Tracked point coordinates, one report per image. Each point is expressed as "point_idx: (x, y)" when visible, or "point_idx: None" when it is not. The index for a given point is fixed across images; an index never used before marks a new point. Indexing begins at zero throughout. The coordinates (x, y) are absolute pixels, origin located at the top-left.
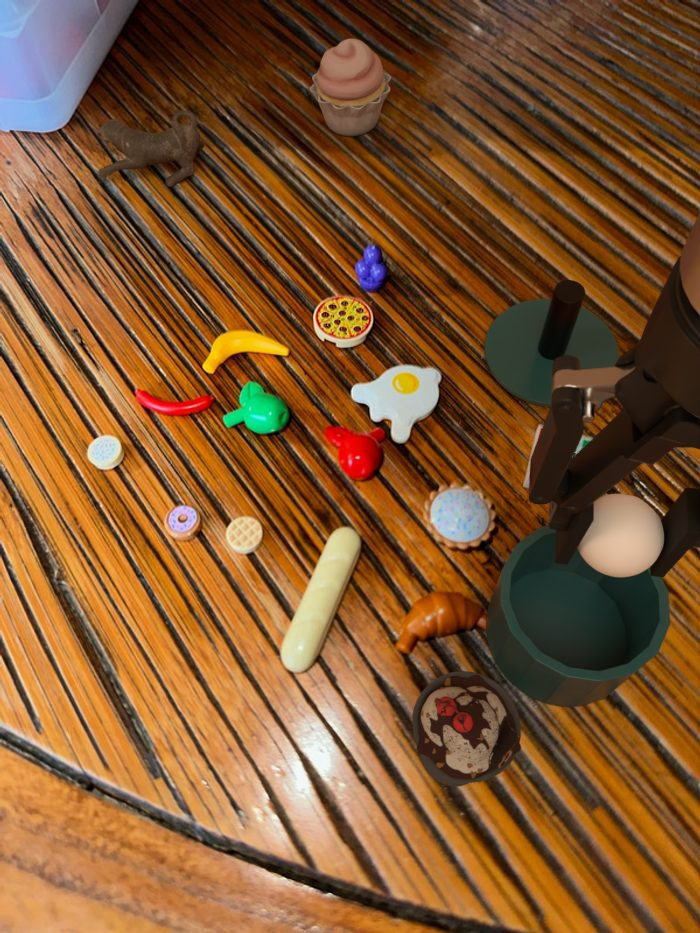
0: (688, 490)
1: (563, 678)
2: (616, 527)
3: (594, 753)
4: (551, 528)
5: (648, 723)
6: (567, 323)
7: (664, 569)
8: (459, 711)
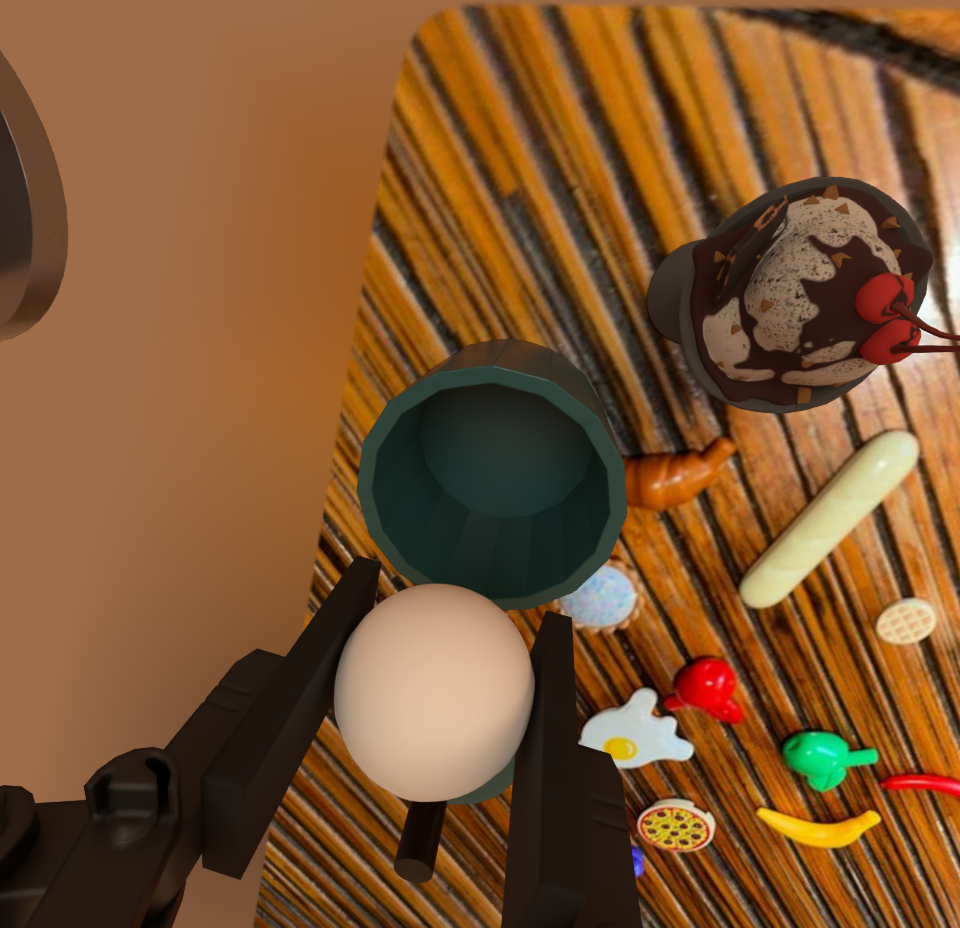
0: (234, 873)
1: (551, 377)
2: (450, 761)
3: (495, 272)
4: (608, 757)
5: (415, 307)
6: (421, 813)
7: (350, 584)
8: (872, 326)
